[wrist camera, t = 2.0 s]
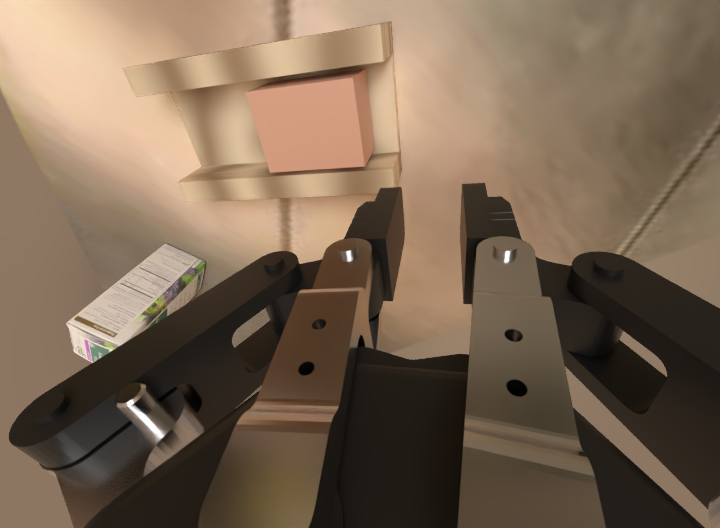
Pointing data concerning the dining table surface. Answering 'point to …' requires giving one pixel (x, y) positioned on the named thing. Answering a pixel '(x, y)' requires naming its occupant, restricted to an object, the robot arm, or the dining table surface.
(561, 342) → the robot arm
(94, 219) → the dining table surface
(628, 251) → the dining table surface
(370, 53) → the chute
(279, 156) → the block
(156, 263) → the syrup box
